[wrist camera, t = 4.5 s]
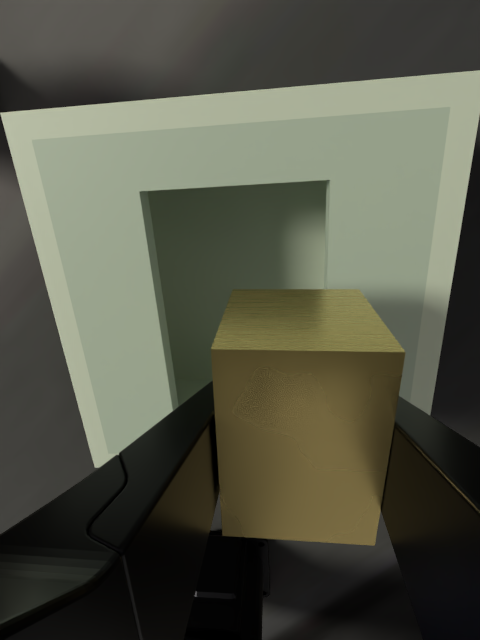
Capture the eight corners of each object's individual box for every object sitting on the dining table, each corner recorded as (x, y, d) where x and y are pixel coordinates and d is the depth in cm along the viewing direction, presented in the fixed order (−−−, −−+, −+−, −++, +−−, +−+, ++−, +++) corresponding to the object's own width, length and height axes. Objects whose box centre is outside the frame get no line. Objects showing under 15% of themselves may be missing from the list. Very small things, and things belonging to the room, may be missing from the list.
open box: (376, 383, 21) (420, 474, 15) (146, 383, 23) (94, 467, 16) (401, 112, 16) (486, 70, 10) (101, 135, 18) (-1, 112, 11)
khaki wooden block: (344, 433, 11) (374, 545, 8) (237, 430, 11) (222, 535, 8) (359, 289, 9) (405, 352, 6) (232, 289, 9) (210, 349, 6)
